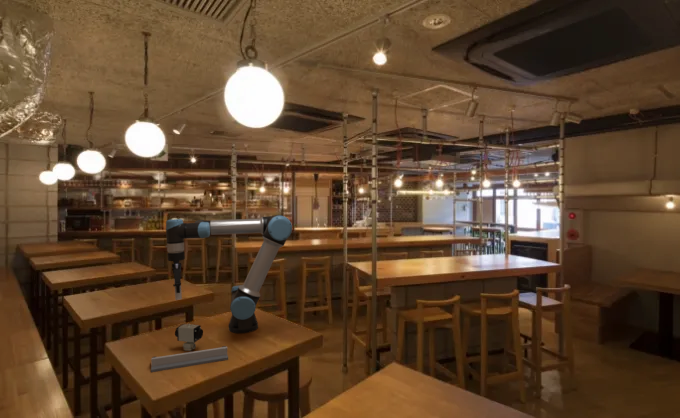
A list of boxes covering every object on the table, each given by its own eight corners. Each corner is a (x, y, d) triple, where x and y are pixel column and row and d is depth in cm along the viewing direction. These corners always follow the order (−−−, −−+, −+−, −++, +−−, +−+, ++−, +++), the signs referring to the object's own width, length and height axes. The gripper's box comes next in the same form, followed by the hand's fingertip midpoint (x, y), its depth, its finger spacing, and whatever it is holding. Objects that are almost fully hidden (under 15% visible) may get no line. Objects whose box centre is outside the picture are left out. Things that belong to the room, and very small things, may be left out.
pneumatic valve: (198, 352, 172) (197, 326, 172) (174, 350, 175) (174, 324, 174) (204, 347, 178) (204, 322, 177) (182, 345, 180) (181, 320, 180)
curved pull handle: (225, 351, 174) (225, 342, 174) (228, 359, 165) (228, 350, 165) (152, 362, 162) (152, 353, 162) (150, 372, 154) (150, 362, 153)
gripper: (167, 249, 191) (169, 291, 192) (167, 256, 168) (169, 303, 169) (183, 247, 194) (185, 289, 195) (185, 254, 171) (187, 301, 172)
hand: (178, 296), depth 182 cm, fingers open, 13 cm apart
